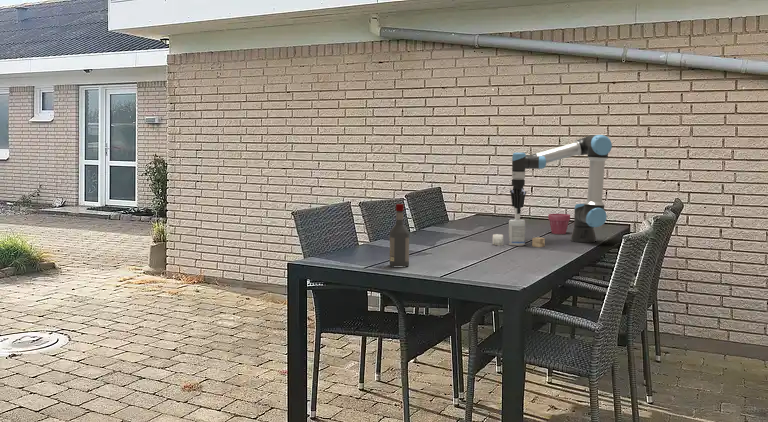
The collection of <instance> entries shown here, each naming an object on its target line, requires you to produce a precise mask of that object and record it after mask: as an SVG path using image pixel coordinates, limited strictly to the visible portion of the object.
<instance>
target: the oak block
mask: <svg viewBox="0 0 768 422" xmlns="http://www.w3.org/2000/svg"><path fill="white" fill-rule="evenodd" d="M545 241H546V238H545V237H538V236H537V237H532V244H531V245H532V247H534V248H543V247H544V248H545V245H546V242H545Z"/></svg>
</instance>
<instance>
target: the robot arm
mask: <svg viewBox="0 0 768 422" xmlns="http://www.w3.org/2000/svg"><path fill="white" fill-rule="evenodd" d="M612 147H613V144H612V141H611V139H610V138H609V137H608V136H607V135H605V134H590V135H587V136H585V137H582V138H580V139H575V140H574V141H573V142H572V143H568V144H565V145H561V146H557V147H553V148H550V149H547V150H542V151H539V152H535V153H531V154H526V152H513V153H512V157H511V158H512V159H511V163H512V164H511V178H512V179H511V186H512V189H511V190H509V193H510V199H511V207H513V208H514V220H521V213H522V212H521V208H523V207H524V206H525V205H524V203H525V199H526V195H527V191H525V190H524V189H525V188H524V187H525V183H526V180H525V179H526V170H534V169H535V170H544V169H546V167H547V164H549V163H552V162H555V161H559V160H563V159H566V158H570V157H575V156H578V157H580V156H584V155H587V159H588V160H589V165H588V166H589V169H588V183H587V195H586V201H585V202H584V203H576V204H575V206H574V209H573V210H574V217H573V218H574V219H573V220H574V221H573V225H574V226H573V231H572V234H571V236H570V241H571V242H574V241H575V243H596V242H597V236H596V232H595V228H599V227H601V226H603V225H605V223H606V221H607V216H608V215H607V211H605V203H604V202H603V194H604V193H603V192H604V191H603V190H604V182H605V181H604V179H605V177H604V176H605V166H606V161H607V160H608V159H609V153H610V152H611V150H612ZM595 241H596V242H595Z"/></svg>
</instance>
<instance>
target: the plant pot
mask: <svg viewBox="0 0 768 422" xmlns="http://www.w3.org/2000/svg"><path fill="white" fill-rule="evenodd" d="M547 215H548V217H547V220H548V221H549V224H550V225H549V226H550V230H551V234H553V235H566V234H567V230H568V227H569V221H571V214H568V213H548V214H547Z"/></svg>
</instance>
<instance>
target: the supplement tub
mask: <svg viewBox="0 0 768 422" xmlns="http://www.w3.org/2000/svg"><path fill="white" fill-rule="evenodd" d="M508 245H509V246H513V247H514V246H515V247H521V246H525V245H526V220H525V219H509V221H508Z"/></svg>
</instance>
